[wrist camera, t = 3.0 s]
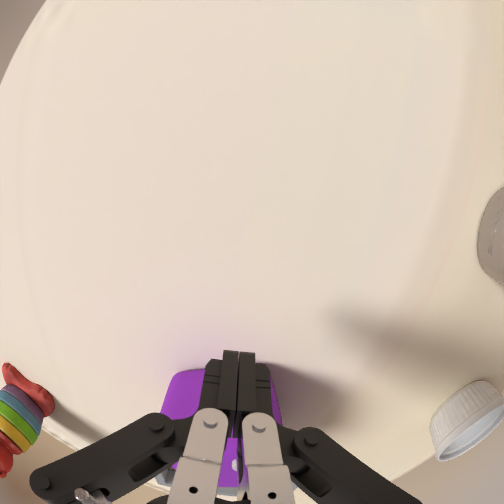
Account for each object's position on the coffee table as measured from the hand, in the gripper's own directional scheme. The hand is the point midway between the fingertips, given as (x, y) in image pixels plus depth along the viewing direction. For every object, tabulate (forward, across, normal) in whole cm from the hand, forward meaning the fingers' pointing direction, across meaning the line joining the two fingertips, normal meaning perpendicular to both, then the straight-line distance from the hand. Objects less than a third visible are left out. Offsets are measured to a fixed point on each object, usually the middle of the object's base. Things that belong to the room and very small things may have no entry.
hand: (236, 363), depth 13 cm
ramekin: (+8, -35, +18) cm, 40 cm away
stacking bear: (+9, +32, +27) cm, 43 cm away
